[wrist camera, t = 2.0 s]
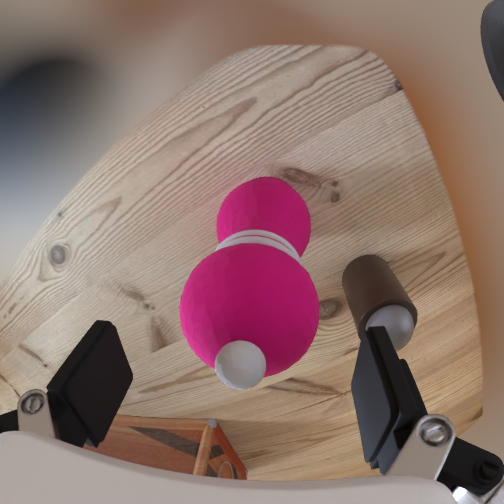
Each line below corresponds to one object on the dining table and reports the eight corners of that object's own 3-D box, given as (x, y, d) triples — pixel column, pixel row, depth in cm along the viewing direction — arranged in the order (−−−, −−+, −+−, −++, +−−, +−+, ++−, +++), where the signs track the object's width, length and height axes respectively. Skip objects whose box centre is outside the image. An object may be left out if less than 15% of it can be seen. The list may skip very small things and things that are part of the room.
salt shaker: (344, 254, 29) (370, 317, 19) (393, 254, 28) (435, 312, 19) (339, 300, 31) (358, 370, 21) (385, 298, 30) (417, 365, 21)
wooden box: (44, 401, 48) (4, 466, 30) (216, 417, 41) (190, 535, 22) (93, 453, 55) (66, 513, 37) (249, 471, 48) (238, 557, 30)
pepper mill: (246, 257, 30) (199, 445, 11) (213, 189, 27) (93, 324, 9) (317, 231, 28) (366, 415, 10) (288, 158, 25) (309, 250, 7)
